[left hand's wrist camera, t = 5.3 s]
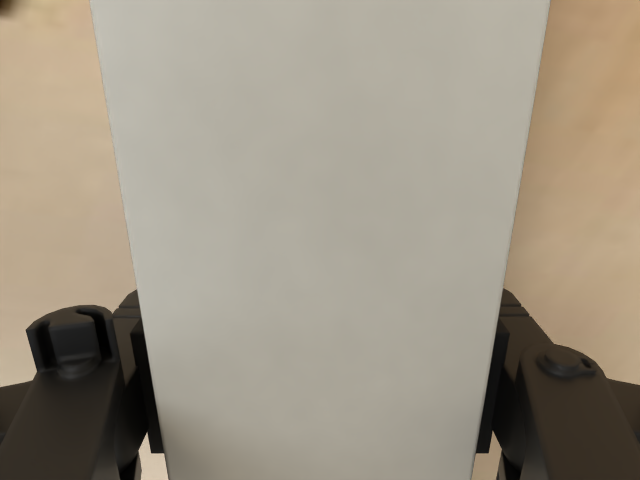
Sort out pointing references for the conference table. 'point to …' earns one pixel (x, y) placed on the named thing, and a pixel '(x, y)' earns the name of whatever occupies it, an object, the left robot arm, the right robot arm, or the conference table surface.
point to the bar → (319, 223)
